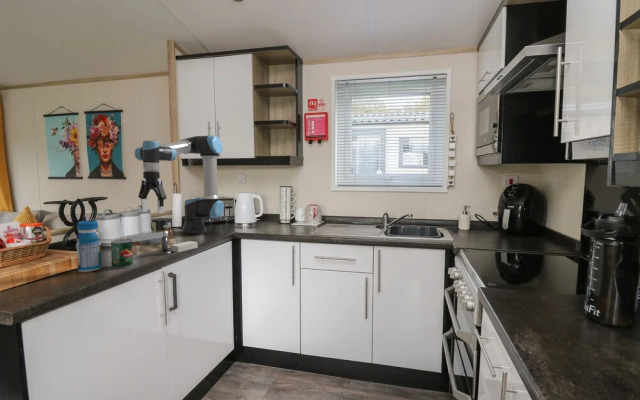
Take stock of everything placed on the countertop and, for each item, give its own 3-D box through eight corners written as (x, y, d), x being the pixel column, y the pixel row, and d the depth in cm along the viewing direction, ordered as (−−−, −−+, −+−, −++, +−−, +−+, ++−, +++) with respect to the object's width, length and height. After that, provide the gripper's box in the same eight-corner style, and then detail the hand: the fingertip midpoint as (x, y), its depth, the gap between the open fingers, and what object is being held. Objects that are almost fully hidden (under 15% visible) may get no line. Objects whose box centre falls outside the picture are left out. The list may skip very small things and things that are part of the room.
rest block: (190, 246, 178) (190, 241, 178) (197, 247, 175) (197, 242, 175) (170, 250, 168) (170, 245, 167) (178, 252, 165) (178, 246, 164)
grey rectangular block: (158, 239, 176) (157, 232, 175) (167, 241, 172) (167, 233, 171) (140, 243, 167) (139, 235, 167) (149, 244, 163) (149, 237, 163)
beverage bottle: (87, 273, 129) (85, 223, 128) (72, 271, 132) (69, 222, 130) (107, 267, 137) (104, 220, 136) (91, 265, 140) (89, 220, 138)
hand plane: (169, 245, 181) (168, 231, 180) (176, 246, 178) (175, 232, 177) (129, 253, 162) (129, 237, 161) (136, 254, 159) (136, 238, 158)
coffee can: (175, 241, 190) (175, 218, 188) (163, 245, 179) (163, 220, 178) (160, 241, 192) (159, 217, 190) (147, 244, 182) (146, 219, 180)
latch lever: (166, 235, 164) (165, 230, 163) (169, 236, 162) (169, 231, 161) (126, 241, 149) (126, 236, 149) (129, 242, 147) (129, 237, 147)
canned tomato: (130, 267, 138) (129, 242, 137) (109, 269, 135) (108, 243, 134) (135, 262, 145) (134, 238, 144) (115, 264, 143) (114, 239, 142)
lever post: (166, 251, 166) (166, 235, 165) (174, 252, 163) (173, 236, 163) (155, 253, 161) (155, 237, 160) (163, 255, 158) (162, 238, 157)
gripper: (130, 171, 169) (131, 211, 171) (159, 171, 157) (160, 214, 158) (144, 171, 176) (145, 210, 177) (173, 171, 163) (174, 212, 165)
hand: (152, 212), depth 168 cm, fingers open, 13 cm apart
